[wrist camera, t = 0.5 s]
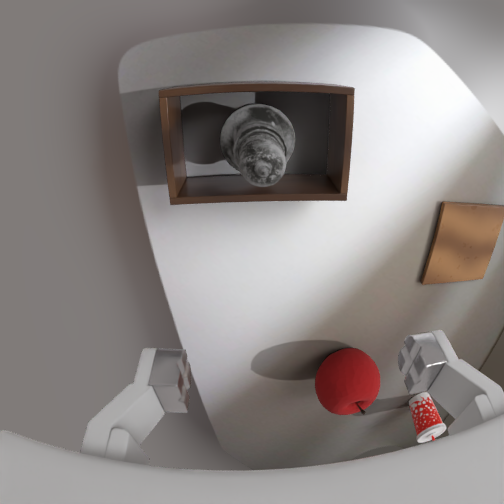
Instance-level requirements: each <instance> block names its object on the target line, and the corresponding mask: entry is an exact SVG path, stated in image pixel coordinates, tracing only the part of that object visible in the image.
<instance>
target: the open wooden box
mask: <svg viewBox="0 0 504 504" xmlns="http://www.w3.org/2000/svg"><path fill="white" fill-rule="evenodd" d="M259 91H281V92H314V93H330V111H329V136H328V155H327V171H326V174H284V175H283V176H282V178H281V179H280V180H279V181H278V182H277V183H275V184H274V185H271V186H268V187H258V186H254V185H252V184H250V183H249V182H248V181H247V180H245V179H244V177H243V176H242V175H232V176H209V177H190V178H187V176H186V165H185V155H184V143H183V131H182V118H181V104H180V96H184V95H195V94H209V93H226V92H259ZM159 103H160V115H161V126H162V137H163V147H164V156H165V165H166V173H167V182H168V189H169V197H170V204H171V205H178V204H198V203H221V202H252V201H324V200H328V201H346V200H347V191H348V181H349V170H350V158H351V146H352V131H353V114H354V88H353V87H347V86H342V85H335V84H321V83H301V82H235V83H215V84H201V85H189V86H179V87H172V88H167V89H163V90H159Z"/></svg>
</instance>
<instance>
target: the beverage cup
mask: <svg viewBox="0 0 504 504" xmlns="http://www.w3.org/2000/svg"><path fill="white" fill-rule="evenodd" d="M409 406H410V410H411V414H412V417H413V421H414V425H415V429H416V432H417V441H418V442H419V443H422V442H426V441H429V440H431V439H432V440H433V441H434V440H435V437H437V436H439V435H440V434H442V433H443V432H444V431H445V430H446V426H445V424H443V422H442V420H441V418H440V416H439V414H438V412H437V409H436V407H435V405H434V403H433V401H432V399H431V397H430V395H429V393H427V392H423V393H420V394H418V395H416V396H414V397H413V398H411V399H410V401H409Z"/></svg>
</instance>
